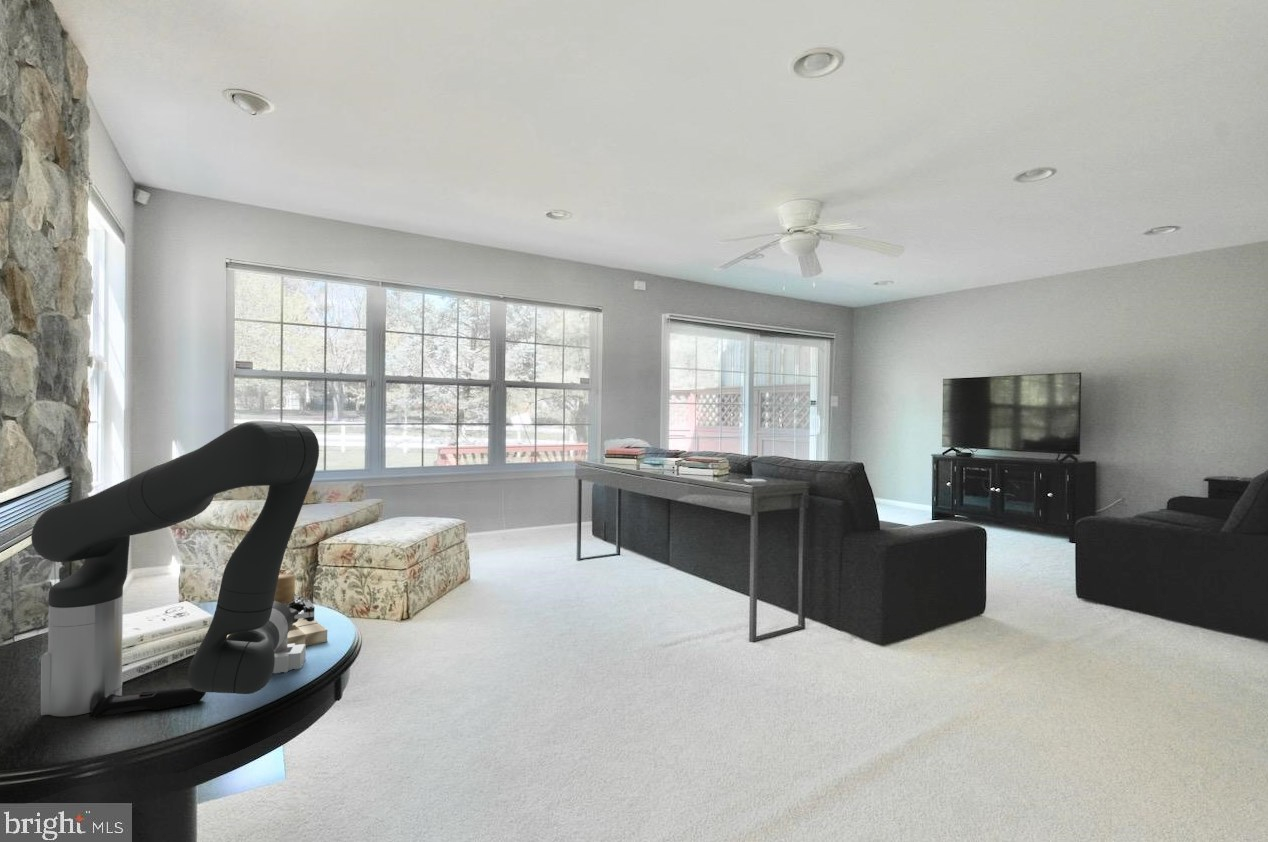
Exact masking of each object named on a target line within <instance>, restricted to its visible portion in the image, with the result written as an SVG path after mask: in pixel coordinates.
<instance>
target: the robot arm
mask: <svg viewBox="0 0 1268 842" xmlns="http://www.w3.org/2000/svg"><path fill="white" fill-rule="evenodd" d="M319 457H320V445H319V440H318V438H317V436H316V433H315V432H314V431H313V430H312V429H311V428H310V427H308V426H306V425H304V424H302V423H293V422H287V421H286V422H284V421H273V420H272V421H271V420H251V421H246V422H243V423H240V424H238V425H236V426H234V427H232V428H230V429H228V430H227V431H225V432H223V433H222V434H220V435H218V436H217V437H214V439H212V440H211V441H209V442H207V443H205V444H204V445H202V446H201V447H199V448H197V449H195V450H193V451H190V452H188V453H185V454H183V455H180V456H178V457H176V458H173V459H171V460H168V461H166V462H162V463H159V464H158V465H155V466H153V467H151V468H148V469H146V470H144V471H142V472H140V473H138V474H136V475H134V476H132V477H129V478H128V479H125V480H123V481H120V482H118V483H116V484H114V485H112V486H110V487H108V488H106V489H104V490H102V491H100V492H97V493H96V494H93V495H90V496H88V497H85V498H82V499H78V500H74V501H72V502H68V503H67V502H66V503H64V504H59V505H55V506H52V507H50V508H48V509H46V511H44V512H43V513H42V514H41V515H40V516H39V518H37V520H36V522H35V523H34V525H33V527H32V530H31V537H30V538H31V539H30V540H31V545H32V547H33V549H34V550H35V552H36V553H37V554H38V555H39V556H40V557H42V558H43V559H45V560H48V561H50V562H54V563H70V562H77V561H82V560H84V561H83V562H82V563H83V564H81V566H80V567H79V568H78V569H76V571H74V572H73V573H72V574H70V575H69V576H68V577H66V578H64V579H62V580H59V581H58V582H56V583H55V584H53V585H52V586H51V587H50V589H49V590H48V599H47V600H48V622H47V623H48V628H47V629H48V630H47V631H48V633H47V634H48V635H47V636H48V638H47V640H48V642H47V643H48V644H47V646H48V647H47V648H48V649H47V651H46V652H44V653H43V654H42V655H41V658H40V716H47V715H49V716H52V717H72V716H79V715H80V716H81V715H83V714H89V713H91V712H92V711H93V709H94V707H95V706H96V704H97V703H98V701H99V700H100V699H101V698H102V697H106V698H107V697H108V696H109V695H110V694H115V695H119V696H122V695H123V629H124V628H123V627H124V626H123V620H124V619H123V615H124V613H123V611H124V608H123V606H124V605H123V604H124V603H123V602H124V600H123V599H124V597H123V595H124V593H123V592H124V584H125V582H126V580H127V577H128V571H129V570H128V567H129V553H130V540H131V536H135V535H140V534H145V533H150V532H154V531H157V530H162V529H164V528H165V529H166V528H169V527H172V526H175V525H177V524H180V523H183V522H184V521H187V520H190V519H192V518H195V517H197V516H198V515H200V514H201V513H203V512H204V511H205V510H207V508H208V507H209V506H210V505H211V504H212V502H213V500H214V497H215V496H216V495H217V494H220V493H224V492H227V491H229V490H235V489H239V488H247V487H261V486H263V487H264V486H266V487H267V486H268V492H267V496H266V499H265V502H264V504H263V507H262V509H261V511H260V513H259V514H258V515H257V518H256V520H255V521H254V523H253V524H252V525H251V527H250V529H249V530H248V531H247V533H246V534H245V536H244V537H243V538H242V539H241V540H240V542H239V543H238V545H237V546H236V548H235V549H234V551H233V552H232V553H231V555H230V557H229V559H228V561H227V563H226V565H225V567H224V569H223V574H222V577H221V581H220V587H219V592H218V597H217V602H216V607H215V611H214V614H213V617H212V620H211V622H210V625H209V628H208V629H207V632H206V634H205V636H204V638H203V640H202V641H201V643H200V645H199V647H198V648H197V650H196V652H195V654H194V655H193V657H192V659H191V661H190V664H189V667H188V670H187V680H188V682H189V685H190V686H191V687H190V688H193V689H194V690H196V691H200V692H206V693H216V694H217V693H219V694H220V693H221V694H237V695H238V694H239V695H250V694H254V693H257V692H259V691H261V690H262V689H264V688H265V687H266V686H267V684H269V682H270V680H271V678H272V677H273V670H274V664H275V654H274V651H275V650H276V649H277V648H278V647H279V646H280V644H281V643H282V641H283V640H284V639H285V637H286V635H287V634H288V632H289V631H290V629H291V627H292V625H293V623H296V622H297V621H298V619H300V618H303V620H307V621H310V622H311V621H314V620H315V605H314V604H313V602H312V601H311V600H310V599H304V597H302V596H301V595H295V596H294V600H293V601H287V602H285V603H284V604H282V603H280V602H277V601H274V598H275V593H276V588H277V582H278V577H279V575H280V573H281V567H282V564H283V559H284V556H285V553H286V551H287V547H288V544H289V542H290V539H291V536H292V534H293V531H294V528H295V526H296V523H297V521H298V519H299V515H300V513H301V510H302V509H303V505H304V504H305V500H306V498H307V495H308V491H309V489H310V486H311V484H312V480H313V478H314V476H315V473H316V470H317V466H318V461H319ZM227 635H229V636H228V637H227Z"/></svg>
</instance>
